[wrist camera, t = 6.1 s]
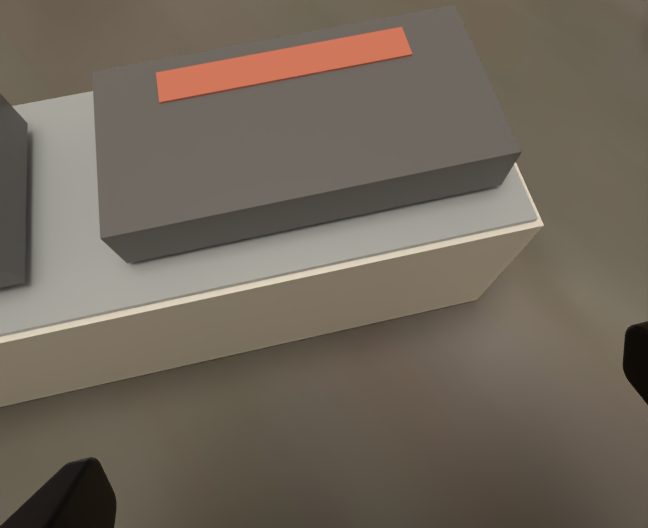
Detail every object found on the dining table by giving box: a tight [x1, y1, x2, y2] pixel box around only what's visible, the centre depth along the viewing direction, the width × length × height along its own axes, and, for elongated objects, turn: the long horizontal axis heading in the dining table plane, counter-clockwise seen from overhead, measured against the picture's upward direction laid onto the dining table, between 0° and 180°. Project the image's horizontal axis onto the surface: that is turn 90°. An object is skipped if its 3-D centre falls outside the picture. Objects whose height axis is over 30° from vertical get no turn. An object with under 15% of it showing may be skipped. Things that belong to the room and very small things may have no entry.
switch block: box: [0, 91, 544, 407], centre depth 20 cm, size 9×29×8 cm, turn 103°
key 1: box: [92, 5, 522, 264], centre depth 15 cm, size 6×12×2 cm, turn 103°
